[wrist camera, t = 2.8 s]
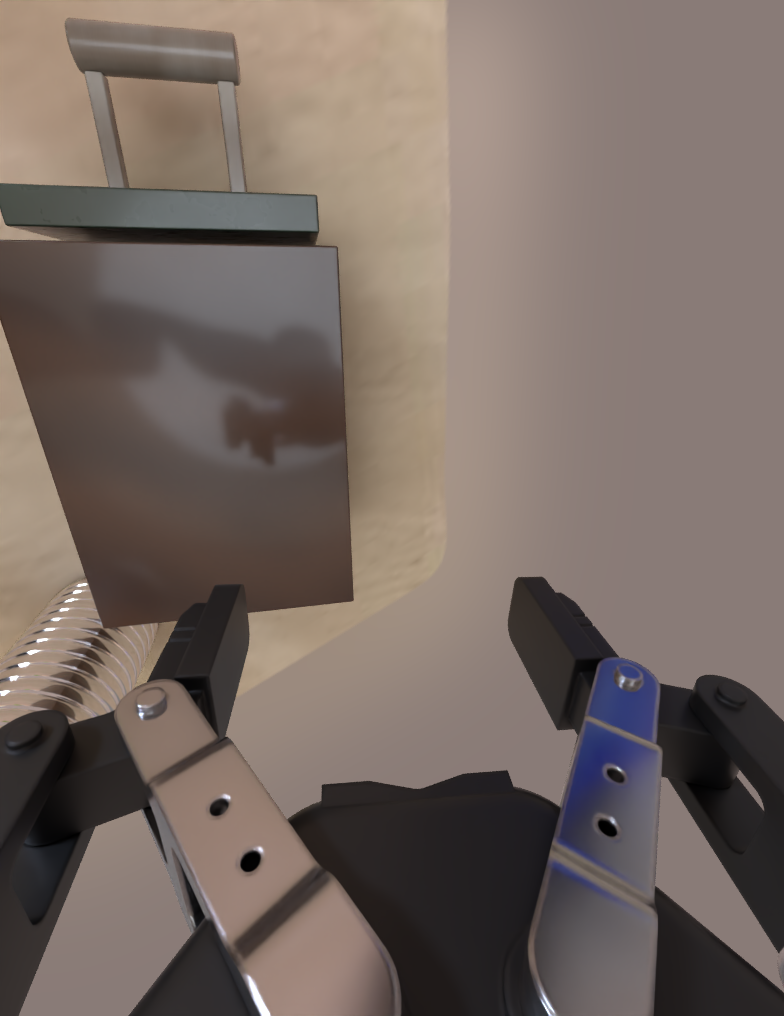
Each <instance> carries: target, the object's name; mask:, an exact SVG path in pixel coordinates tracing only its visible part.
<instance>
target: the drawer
mask: <svg viewBox="0 0 784 1016" xmlns="http://www.w3.org/2000/svg"><path fill="white" fill-rule="evenodd" d="M65 30H66V36H67V41H68V44H69V48H70V51H71V54H72V56H73V59H74V61H75V63H76V65H77V67H78V68H79V70H80V71H81V72H82V73H83V74H85V78H86V83H87V87H88V92H89V96H90V101H91V106H92V110H93V115H94V119H95V124H96V129H97V133H98V138H99V143H100V147H101V152H102V156H103V161H104V166H105V170H106V175H107V180H108V184H109V187H88V186H60V185H33V184H5V183H0V209H1V212H2V216H3V219H4V222H5V224H6V225H7V226H10V227H14V228H18V229H22V230H26V231H30V232H33V233H37V234H41V235H45V236H49V237H53V238H57V239H61V240H65V241H96V242H151V243H205V244H260V245H315V244H316V241H317V237H318V233H319V219H318V202H317V195H307V194H279V193H252V192H247V185H246V176H245V167H244V158H243V149H242V140H241V132H240V123H239V114H238V105H237V96H236V89H235V86H239V85H240V82H241V79H240V67H239V59H238V52H237V45H236V40H235V36H234V34H232V33H227V32H216V31H206V30H195V29H184V28H173V27H162V26H151V25H140V24H129V23H119V22H108V21H97V20H86V19H75V18H68V19H66V21H65ZM105 76H111V77H124V78H138V79H152V80H165V81H179V82H192V83H206V84H218V92H219V100H220V108H221V116H222V124H223V132H224V140H225V148H226V156H227V164H228V172H229V180H230V188H231V192H225V191H197V190H170V189H142V188H129V183H128V178H127V173H126V168H125V163H124V159H123V154H122V149H121V144H120V139H119V134H118V129H117V124H116V119H115V114H114V109H113V104H112V99H111V94H110V89H109V84H108V80H107V78H106V77H105Z"/></svg>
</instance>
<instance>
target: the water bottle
mask: <svg viewBox="0 0 784 1016" xmlns="http://www.w3.org/2000/svg"><path fill="white" fill-rule="evenodd" d="M158 625H159V623H152V624H143V625H134V626H125V627H116V628H107V629H103V627H102V624H101V621H100V618H99V615H98V612H97V609H96V606H95V603H94V600H93V597H92V594H91V591H90V588H89V585H88V582H87V579H86V578H85V579H82V580H79V581H76V582H74V583H72V584H70V585H68V586H67V587H65V588H64V589H62V590H61V591H60V592H59V593H58V594H57V595H56V596H55V597H54V598H53V599H52V600H51V601H50V602H49V603H48V604H47V605H46V606H45V607H44V609H43V610H42V611H41V612H40V613H39V615H38V616H37V617H36V618H35V619H34V621H33V622H32V623H31V624H30V625H29V627H28V628H27V629H26V630H25V631H24V632H23V634H22V635H21V636H20V638H19V639H18V640H17V641H16V642H15V643H14V645H13V646H12V647H11V649H10V650H9V651H8V652H7V653H6V654H5V655H4V657H3V658H2V659H1V661H0V728H1V727H3V726H4V725H6V724H7V723H9V722H11V721H12V720H14V719H16V718H18V717H21V716H23V715H26V714H28V713H32V712H36V711H41V710H57V711H60V712H62V713H64V714H65V715H66V716H67V719H68V721H69V724H72V723H76V722H79V721H82V720H86V719H89V718H93V717H96V716H100V715H103V714H106V713H109V712H111V711H114V710H115V709H116V707H117V705H118V703H119V702H120V700H121V699H122V698H123V697H124V696H125V695H126V694H127V693H128V692H130V691H131V690H133V689H134V688H135V685H136V683H137V681H138V678H139V676H140V674H141V671H142V668H143V666H144V664H145V662H146V659H147V657H148V655H149V653H150V650H151V648H152V646H153V643H154V640H155V637H156V634H157V630H158Z"/></svg>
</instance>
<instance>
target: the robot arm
mask: <svg viewBox="0 0 784 1016" xmlns="http://www.w3.org/2000/svg"><path fill="white" fill-rule="evenodd" d="M508 631H509V636H510V638H511V641H512V643H513V645H514V647H515V649H516V651H517V653H518V654H519V657H520V658H521V660H522V662H523V664H524V666H525V668H526V670H527V672H528V674H529V676H530V678H531V680H532V682H533V684H534V686H535V687H536V689H537V691H538V693H539V695H540V697H541V699H542V701H543V703H544V705H545V707H546V709H547V711H548V713H549V715H550V717H551V719H552V720H553V722H554V724H555V726H556V728H557V730H568V729H575V731H576V733H577V735H578V736H577V740H576V743H575V747H574V751H573V755H572V759H571V762H570V766H569V770H568V773H567V777H566V781H565V785H564V788H563V792H562V796H561V800H560V804H559V806H557V805H556V804H555V803H553V802H551V801H550V800H548V799H546V798H544V797H542V796H541V795H538V794H536V793H533V792H531V791H528V790H525V789H522V788H518V787H513V784H512V782H511V779H510V776H509V773H508V771H507V770H506V771H493V772H482V773H481V772H480V773H467V774H462V775H459V776H456V777H453V778H451V779H448V780H445V781H442V782H439V783H437V784H434V785H431V786H428V787H425V788H422V789H412V788H406V787H400V786H395V785H389V784H383V783H378V782H372V781H363V782H350V783H337V784H326V785H325V784H324V785H322V801H320V802H318V803H315V804H312V805H310V806H308V807H306V808H304V809H302V810H300V811H299V812H297V813H296V814H294V815H293V816H291V817H290V818H288V819H286V817H285V816H284V814H283V813H282V812H281V810H280V809H279V807H278V806H277V804H276V803H275V802H274V800H273V799H272V797H271V796H270V794H269V793H268V792H267V790H266V789H265V787H264V786H263V784H262V783H261V782H260V780H259V779H258V777H257V776H256V774H255V773H254V772H253V770H252V769H251V767H250V766H249V764H248V763H247V761H246V760H245V759H244V757H243V756H242V754H241V753H240V752H239V750H238V749H237V747H236V746H235V745H234V743H233V742H232V741H231V739H229V738H228V737H225V735H226V731H227V727H228V724H229V719H230V716H231V712H232V708H233V705H234V701H235V697H236V693H237V689H238V686H239V682H240V678H241V674H242V670H243V667H244V663H245V659H246V655H247V651H248V646H249V622H248V613H247V604H246V595H245V588H244V585H243V584H223V585H215V586H214V588H213V590H212V592H211V595H210V597H209V599H208V601H207V603H194V604H193V605H192V606H191V607H190V608H189V609H188V610H186V611H185V612H184V613H183V614H182V615H181V616H180V618H179V620H178V622H177V624H176V626H175V628H174V631H173V632H172V634H171V636H170V638H169V642H167V644H166V646H165V648H164V650H163V652H162V653H161V655H160V657H159V659H158V661H157V663H156V665H155V667H154V669H153V671H152V673H151V675H150V677H149V679H148V681H147V683H144V684H142V685H140V686H138V687H136V688H134V689H133V690H131V691H130V692H128V693H127V694H126V695H125V696H124V697H123V698H122V699H121V700H120V702H119V703H118V705H117V707H116V709H115V710H114V711H111V712H109V713H106V714H103V715H100V716H96V717H93V718H89V719H86V720H82V721H79V722H76V723H72V724H69V721H68V719H67V716H66V715H65V714H64V713H62V712H60V711H57V710H41V711H36V712H32V713H28V714H26V715H23V716H21V717H18V718H16V719H14V720H12V721H11V722H9V723H7V724H6V725H4V726H3V727H1V728H0V1016H19V1013H20V1011H21V1008H22V1006H23V1003H24V1001H25V998H26V996H27V993H28V991H29V988H30V986H31V984H32V981H33V979H34V976H35V974H36V971H37V969H38V966H39V964H40V961H41V959H42V957H43V954H44V952H45V949H46V947H47V944H48V942H49V939H50V936H51V934H52V932H53V929H54V927H55V925H56V922H57V920H58V917H59V915H60V912H61V910H62V907H63V905H64V902H65V900H66V897H67V895H68V893H69V890H70V888H71V885H72V883H73V880H74V878H75V875H76V873H77V870H78V868H79V866H80V863H81V861H82V858H83V856H84V853H85V851H86V848H87V846H88V843H89V841H90V839H91V836H92V834H93V831H94V829H95V826H98V825H101V824H103V823H106V822H108V821H111V820H114V819H117V818H119V817H122V816H124V815H127V814H130V813H133V812H135V811H138V810H141V811H142V813H143V816H144V818H145V821H146V823H147V825H148V827H149V830H150V832H151V834H152V837H153V839H154V841H155V844H156V846H157V848H158V851H159V853H160V855H161V858H162V860H163V862H164V865H165V867H166V869H167V872H168V874H169V876H170V879H171V881H172V884H173V887H174V889H175V893H176V896H177V898H178V901H179V904H180V907H181V909H182V912H183V914H184V917H185V920H186V922H187V924H188V927H189V929H190V931H191V933H192V935H191V936H190V938H189V939H188V940H187V941H186V943H185V944H184V945H183V947H182V948H181V949H180V950H179V952H178V953H177V954H176V956H175V957H174V958H173V959H172V961H171V962H170V963H169V964H168V966H167V967H166V968H165V970H164V971H163V972H162V973H161V975H160V976H159V977H158V979H157V980H156V981H155V982H154V984H153V985H152V986H151V988H150V989H149V990H148V992H147V993H146V994H145V995H144V996H143V998H142V999H141V1000H140V1002H139V1003H138V1005H136V1007H135V1008H134V1009H133V1011H132V1012H131V1013H130V1014H129V1016H784V993H783V992H782V991H781V990H780V989H779V988H778V987H777V986H775V985H774V984H773V983H772V982H771V981H769V980H768V979H767V978H766V977H764V976H763V975H762V974H761V973H760V972H759V971H757V970H756V969H755V968H754V967H753V966H751V965H750V964H749V963H748V962H746V961H745V960H744V959H743V958H742V957H740V956H739V955H738V954H737V953H736V952H734V951H733V950H732V949H731V948H730V947H728V946H727V945H726V944H725V943H724V942H722V941H721V940H720V939H719V938H717V937H716V936H715V935H714V934H713V933H712V932H710V931H709V930H708V929H707V928H706V927H704V926H703V925H702V924H701V923H700V922H698V921H697V920H696V919H695V918H693V917H692V916H691V915H690V914H689V913H688V912H686V911H685V910H684V909H683V908H682V907H680V906H679V905H678V904H677V903H676V902H674V901H673V900H672V899H671V898H669V897H668V896H667V895H666V894H664V892H662V891H661V890H660V889H659V888H657V887H656V886H655V877H656V859H657V842H658V825H659V824H658V823H659V807H660V790H661V777H666V778H668V779H669V781H670V783H671V784H672V786H673V787H674V789H675V791H676V792H677V794H678V795H679V797H680V798H681V800H682V802H683V803H684V805H685V806H686V808H687V809H688V811H689V813H690V814H691V816H692V817H693V819H694V820H695V822H696V824H697V825H698V827H699V828H700V830H701V832H702V833H703V835H704V836H705V838H706V840H707V841H708V843H709V844H710V846H711V847H712V849H713V850H714V852H715V854H716V855H717V857H718V858H719V860H720V862H721V863H722V865H723V866H724V868H725V869H726V871H727V873H728V874H729V876H730V877H731V879H732V880H733V882H734V884H735V885H736V887H737V888H738V890H739V892H740V893H741V895H742V896H743V898H744V899H745V901H746V902H747V904H748V906H749V907H750V909H751V910H752V912H753V914H754V915H755V917H756V918H757V920H758V921H759V923H760V925H761V926H762V928H763V929H764V931H765V933H766V934H767V936H768V937H769V939H770V940H771V942H772V944H773V945H774V947H775V948H776V950H777V951H778V953H779V956H778V971H779V975H780V978H781V981H782V984H783V987H784V722H783V720H782V719H781V718H779V716H778V715H776V714H775V712H773V710H772V709H771V708H769V706H768V705H767V704H766V703H765V702H764V701H763V700H762V699H761V698H759V696H757V695H756V694H755V693H754V692H753V691H751V690H750V689H749V688H747V687H745V686H744V685H742V684H740V683H738V682H736V681H734V680H731V679H728V678H726V677H722V676H717V675H704V676H701V677H699V678H698V679H697V681H696V683H695V686H694V688H693V690H690V689H686V688H680V687H675V686H670V685H664V684H660V683H659V682H658V680H657V678H656V677H655V676H654V675H653V674H652V673H651V672H650V671H649V670H648V669H646V668H645V667H643V666H642V665H640V664H638V663H636V662H633V661H631V660H628V659H625V658H619V656H618V655H617V654H616V653H615V651H614V650H613V649H612V648H611V646H610V645H609V644H608V643H607V641H606V640H605V639H604V638H603V636H602V635H601V634H600V633H599V631H598V630H597V629H596V628H595V626H593V625H592V623H591V621H590V620H589V619H588V618H587V617H585V614H584V613H583V611H582V610H581V609H580V607H579V606H578V605H577V604H576V603H575V602H574V601H573V600H571V599H570V598H568V597H567V596H565V595H564V594H562V593H555V591H554V590H553V589H552V587H551V586H550V585H549V584H548V582H547V581H546V580H545V579H544V578H543V577H518V578H517V579H516V580H515V583H514V588H513V594H512V600H511V605H510V611H509V618H508ZM739 770H740V771H741V772H742V773H743V774H744V776H745V777H746V778H747V779H748V781H749V782H750V783H751V785H752V786H753V787H754V788H755V789H756V791H757V792H758V794H759V796H760V798H761V799H762V802H763V806H764V811H765V812H764V811H763V810H762V808H761V807H760V806H759V804H758V803H757V802H756V801H755V799H754V798H753V797H752V796H751V794H750V793H749V792H748V791H747V789H746V788H745V787H744V785H743V784H742V783H741V782H740V780H739V779H738V778H737V774H738V772H739Z"/></svg>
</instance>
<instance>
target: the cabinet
mask: <svg viewBox="0 0 784 1016" xmlns="http://www.w3.org/2000/svg"><path fill="white" fill-rule="evenodd" d="M0 320H1V323H2V326H3V329H4V332H5V335H6V338H7V341H8V344H9V347H10V350H11V353H12V356H13V359H14V362H15V365H16V368H17V371H18V374H19V377H20V380H21V383H22V386H23V389H24V392H25V395H26V398H27V401H28V404H29V407H30V410H31V413H32V416H33V419H34V422H35V425H36V429H37V432H38V435H39V438H40V441H41V444H42V447H43V450H44V453H45V456H46V459H47V462H48V465H49V468H50V471H51V474H52V477H53V480H54V483H55V486H56V489H57V492H58V495H59V498H60V501H61V504H62V507H63V510H64V513H65V516H66V519H67V522H68V525H69V528H70V531H71V534H72V537H73V540H74V543H75V546H76V549H77V552H78V555H79V558H80V561H81V564H82V567H83V570H84V573H85V576H86V579H87V582H88V585H89V588H90V591H91V594H92V597H93V600H94V603H95V606H96V609H97V612H98V615H99V618H100V621H101V624H102V627H103V629H107V628H116V627H125V626H134V625H143V624H152V623H161V622H170V621H178V620H179V618H180V616H181V615H182V614H183V613H184V612H185V611H186V610H188V609H189V608H190V607H191V606H192V605H193V604H194V603H207V601H208V599H209V597H210V595H211V592H212V590H213V588H214V586H215V585H223V584H243V585H244V588H245V595H246V604H247V613H251V612H260V611H269V610H278V609H287V608H296V607H305V606H314V605H323V604H332V603H341V602H350V601H353V600H354V598H353V575H352V553H351V531H350V508H349V486H348V463H347V441H346V418H345V396H344V373H343V351H342V328H341V306H340V283H339V261H338V247H337V246H315V245H260V244H205V243H151V242H96V241H41V240H0Z"/></svg>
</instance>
